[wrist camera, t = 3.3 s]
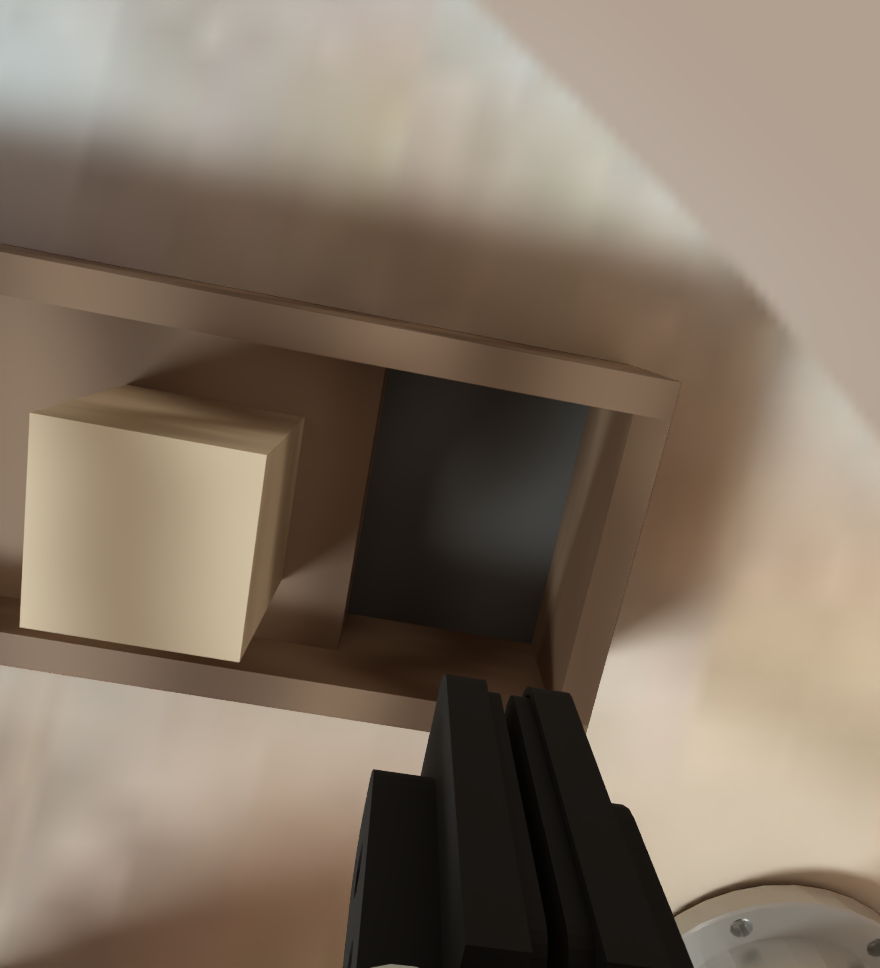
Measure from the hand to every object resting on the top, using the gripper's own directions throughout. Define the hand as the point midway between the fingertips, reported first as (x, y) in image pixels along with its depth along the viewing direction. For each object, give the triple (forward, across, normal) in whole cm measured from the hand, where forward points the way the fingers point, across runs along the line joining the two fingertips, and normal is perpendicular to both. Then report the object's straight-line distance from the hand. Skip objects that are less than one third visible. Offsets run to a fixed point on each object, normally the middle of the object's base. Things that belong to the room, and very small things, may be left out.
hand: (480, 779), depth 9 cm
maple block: (+12, +7, +1) cm, 14 cm away
